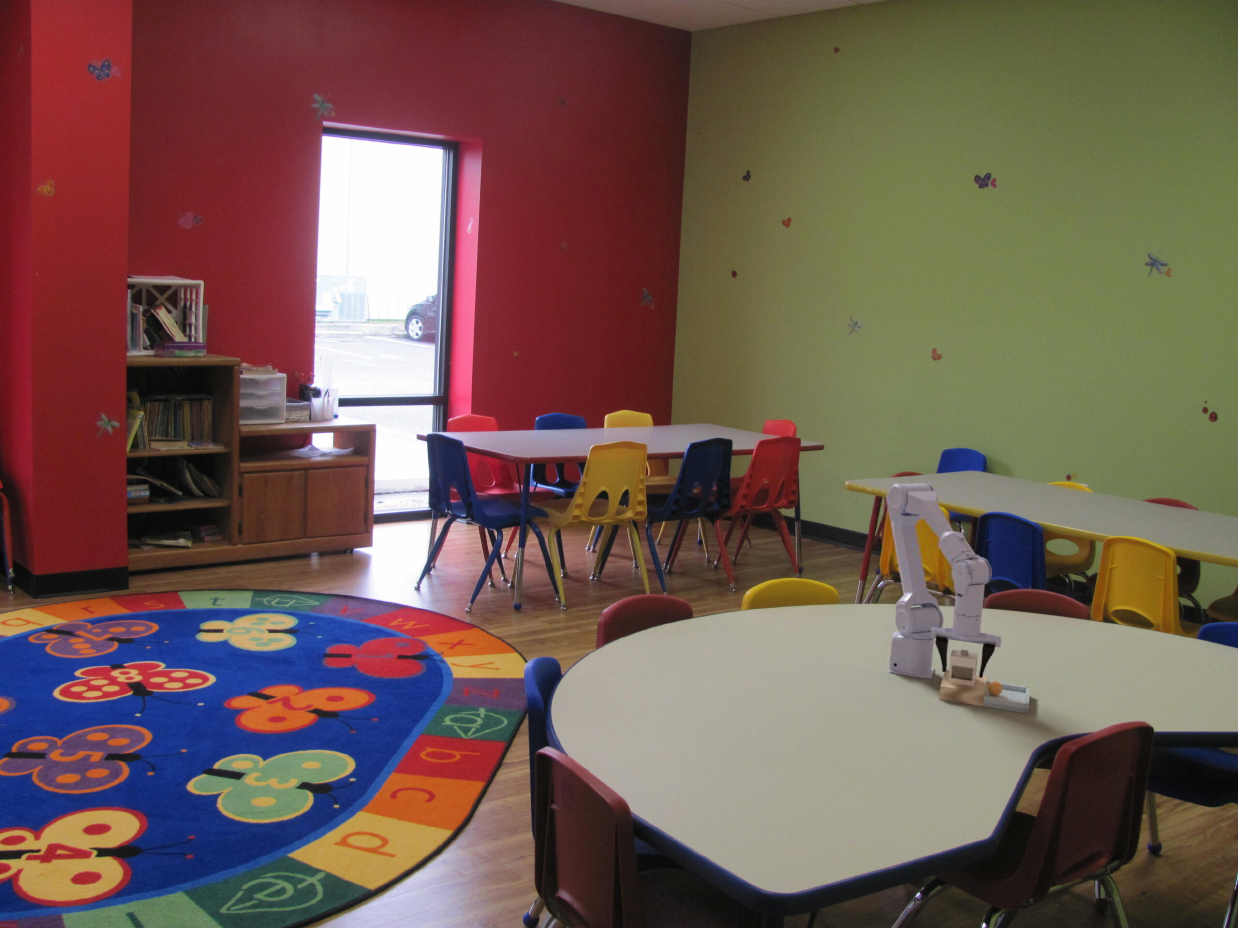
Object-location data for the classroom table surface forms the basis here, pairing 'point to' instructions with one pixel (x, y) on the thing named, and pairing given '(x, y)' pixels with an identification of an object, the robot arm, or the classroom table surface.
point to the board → (963, 690)
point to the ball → (995, 688)
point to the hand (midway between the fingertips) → (962, 673)
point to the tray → (1008, 698)
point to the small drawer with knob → (963, 667)
